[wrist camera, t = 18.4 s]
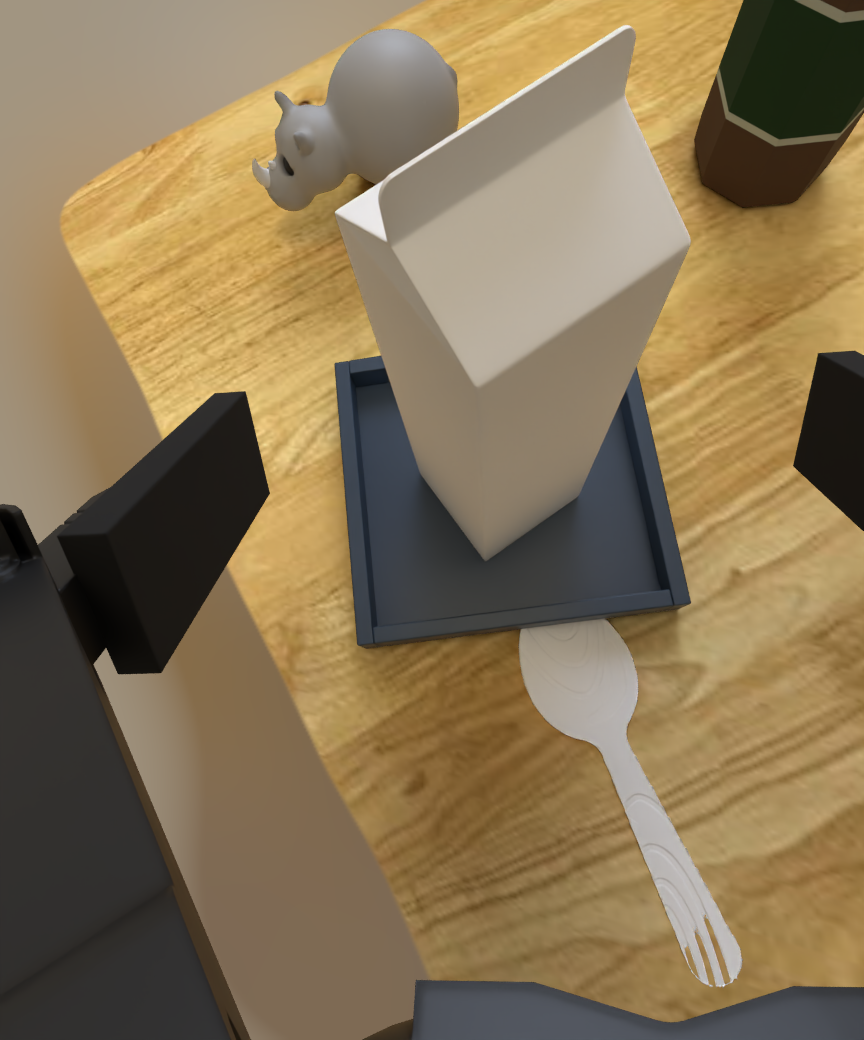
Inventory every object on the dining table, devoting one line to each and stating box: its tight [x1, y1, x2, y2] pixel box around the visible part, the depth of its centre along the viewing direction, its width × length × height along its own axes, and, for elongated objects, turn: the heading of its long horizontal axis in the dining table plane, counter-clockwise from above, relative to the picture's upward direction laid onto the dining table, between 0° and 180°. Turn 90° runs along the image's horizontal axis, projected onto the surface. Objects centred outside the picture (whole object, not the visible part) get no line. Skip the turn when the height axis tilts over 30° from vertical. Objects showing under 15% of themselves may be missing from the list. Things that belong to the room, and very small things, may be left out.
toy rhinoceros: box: [252, 29, 459, 211], centre depth 35 cm, size 7×12×8 cm, turn 113°
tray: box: [335, 356, 691, 649], centre depth 32 cm, size 16×15×2 cm
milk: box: [335, 25, 691, 561], centre depth 22 cm, size 6×6×22 cm
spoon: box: [518, 618, 743, 988], centre depth 29 cm, size 5×18×1 cm, turn 23°
